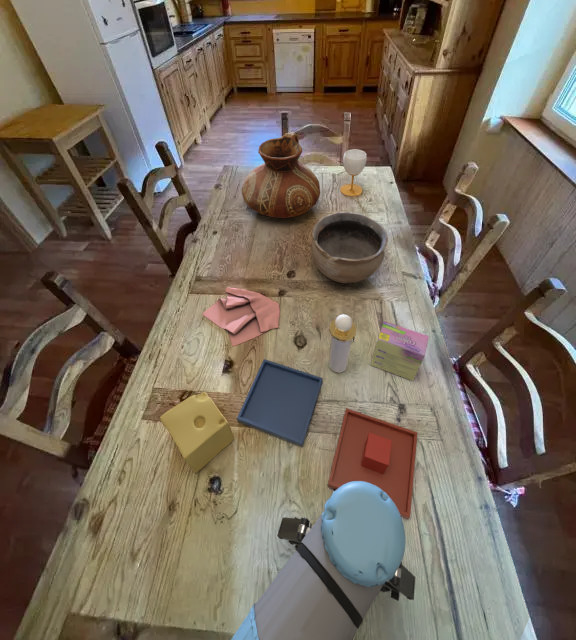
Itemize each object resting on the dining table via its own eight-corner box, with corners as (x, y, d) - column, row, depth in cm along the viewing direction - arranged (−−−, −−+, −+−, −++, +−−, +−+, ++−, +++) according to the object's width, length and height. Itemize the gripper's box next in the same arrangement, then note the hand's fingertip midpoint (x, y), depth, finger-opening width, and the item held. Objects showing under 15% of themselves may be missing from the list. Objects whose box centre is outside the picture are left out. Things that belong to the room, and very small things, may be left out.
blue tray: (302, 447, 72) (302, 444, 70) (237, 422, 76) (236, 418, 75) (322, 381, 82) (322, 378, 81) (264, 362, 86) (263, 358, 85)
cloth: (288, 330, 93) (288, 325, 91) (208, 353, 88) (206, 348, 87) (268, 278, 107) (268, 272, 105) (199, 295, 103) (197, 290, 101)
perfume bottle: (339, 380, 82) (346, 334, 68) (321, 365, 85) (324, 317, 71) (354, 365, 85) (364, 317, 71) (336, 350, 88) (342, 302, 74)
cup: (338, 194, 139) (341, 158, 128) (342, 182, 145) (346, 147, 134) (360, 197, 137) (365, 161, 125) (364, 186, 143) (369, 150, 132)
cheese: (212, 403, 79) (203, 383, 72) (238, 441, 73) (231, 423, 66) (171, 434, 75) (157, 416, 68) (195, 478, 68) (182, 463, 61)
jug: (322, 226, 124) (325, 164, 107) (240, 229, 125) (230, 168, 107) (316, 182, 146) (318, 125, 129) (246, 185, 146) (238, 128, 129)
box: (417, 361, 85) (429, 335, 77) (413, 381, 81) (425, 356, 73) (376, 346, 88) (383, 320, 80) (370, 365, 85) (377, 339, 76)
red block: (383, 474, 67) (388, 465, 63) (360, 465, 69) (364, 456, 64) (386, 450, 70) (392, 440, 66) (365, 442, 72) (368, 432, 67)
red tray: (407, 519, 63) (410, 517, 61) (327, 486, 67) (328, 483, 65) (415, 435, 73) (417, 432, 71) (345, 411, 77) (346, 407, 75)
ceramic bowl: (296, 268, 110) (295, 232, 99) (341, 237, 120) (345, 201, 109) (348, 308, 97) (354, 272, 87) (394, 270, 107) (404, 234, 97)
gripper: (462, 553, 40) (421, 566, 55) (267, 471, 47) (277, 502, 62) (462, 643, 35) (417, 631, 50) (244, 537, 42) (261, 554, 57)
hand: (340, 560), depth 56 cm, fingers open, 13 cm apart
